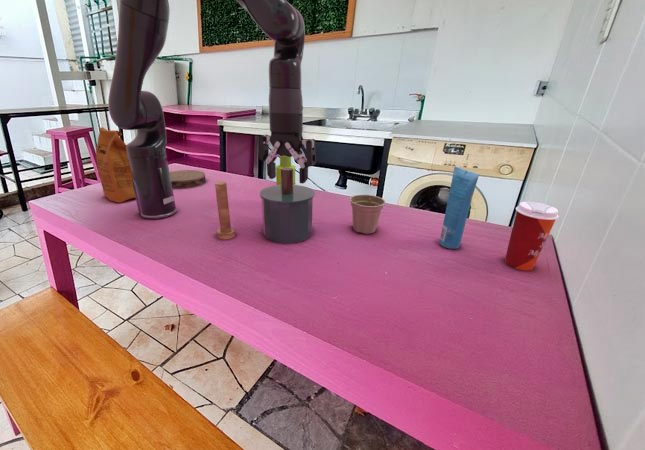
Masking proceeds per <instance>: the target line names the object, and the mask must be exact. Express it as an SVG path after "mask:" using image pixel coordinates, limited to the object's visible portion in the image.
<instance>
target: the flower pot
mask: <svg viewBox="0 0 645 450" xmlns="http://www.w3.org/2000/svg"><path fill="white" fill-rule="evenodd" d="M349 202H350V206H351V210H352V229H353V230H354V231H355V232H356V233H362V234H364V235H370V234H374V233H375V232H376V230H377V227H378V222H379V219H380V215H381V212H382V210H383V208H384V206H385V205H386V200H385V199H384V198H382V197H380V196H376V195H373V194H355V195H352V196H351V197H349Z"/></svg>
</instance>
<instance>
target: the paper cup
mask: <svg viewBox="0 0 645 450" xmlns="http://www.w3.org/2000/svg"><path fill="white" fill-rule="evenodd" d="M515 211H516V212H515V216H514V221H513V224H512V227H511V228H512V229H511V233H510V237H509V240H508V245H507V248H506V253H505V258H504V262H505V264H507V266H509V267H510V268H513V269H516V270H518V271H525V272H528V271H532V270H533V269H534V267H535V265H536V263H537V261H538V260H539V257H540V255H541V252H542V251H543V248H544V246H545V244H546V242H547V240H548V238H549V235H550V234H551V231H552V229H553V227H554V225H555V222H556V220H558V219H559V217H560V216H559V210H558V209H557V208H556V207H555V206H552V205H549V204H546V203H542V202H537V201H521V202H519V204H518V206H516V207H515Z"/></svg>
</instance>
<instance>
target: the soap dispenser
mask: <svg viewBox="0 0 645 450" xmlns="http://www.w3.org/2000/svg"><path fill="white" fill-rule="evenodd" d="M285 167H289V168H293V185H296V166H295V165H293V164H292V157H287V156H285V155H284V156H279V164H278V165H276V177H275V180H276V181H275V182H276V185H281V168H285Z"/></svg>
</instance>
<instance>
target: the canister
mask: <svg viewBox="0 0 645 450" xmlns="http://www.w3.org/2000/svg"><path fill="white" fill-rule="evenodd" d="M260 199H261V217H262V218H261V219H262V232H263V236H264V237H265V239H267V240H268V241H271V242H275V243H278V244H294V243H295V244H296V243H299V242H300V243H301V242H303V241H305V240H308V239H309V238H311V236H312V234H313V219H314V218H313V217H314V216H313V215H314V213H313V212H314V211H313V210H314V208H313V207H314V197H313V198H312V199H310V200H308V201H305V202H300V203H290V204H283V203H274V202H269V201H266V200H264V199H262V198H261V197H260Z"/></svg>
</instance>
